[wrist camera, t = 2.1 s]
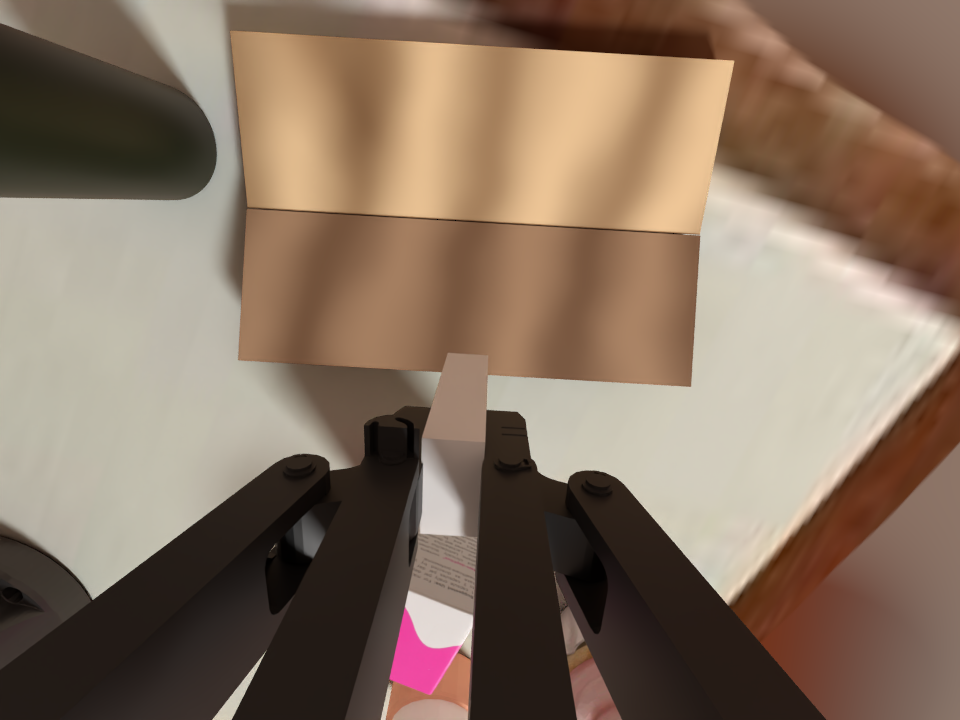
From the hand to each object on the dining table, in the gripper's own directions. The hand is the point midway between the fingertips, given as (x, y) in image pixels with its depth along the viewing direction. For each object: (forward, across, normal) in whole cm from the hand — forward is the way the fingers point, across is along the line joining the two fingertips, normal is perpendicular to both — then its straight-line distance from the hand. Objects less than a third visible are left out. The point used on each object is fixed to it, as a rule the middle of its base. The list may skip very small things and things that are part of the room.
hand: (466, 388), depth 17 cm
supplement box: (+11, -2, -12) cm, 17 cm away
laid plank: (+11, 0, +10) cm, 15 cm away
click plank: (+10, 0, +1) cm, 10 cm away
